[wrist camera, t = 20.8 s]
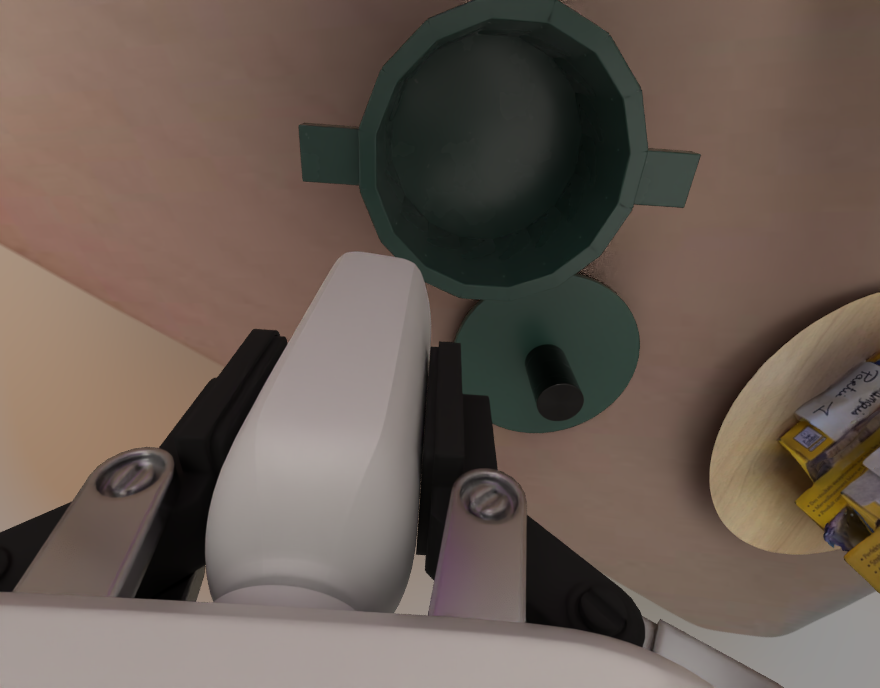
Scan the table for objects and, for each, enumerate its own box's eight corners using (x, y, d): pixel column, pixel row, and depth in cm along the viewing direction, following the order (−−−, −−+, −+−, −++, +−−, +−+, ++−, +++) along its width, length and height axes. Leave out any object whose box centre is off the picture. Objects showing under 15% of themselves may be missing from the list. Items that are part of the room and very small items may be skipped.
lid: (459, 261, 32) (464, 299, 27) (657, 274, 32) (701, 314, 27) (445, 419, 39) (446, 475, 33) (609, 427, 39) (636, 484, 34)
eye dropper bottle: (265, 359, 15) (-164, 1043, 4) (364, 219, 12) (-48, 965, 2) (380, 426, 16) (256, 1074, 6) (489, 311, 14) (607, 1046, 3)
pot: (328, 4, 25) (282, -25, 17) (664, 31, 25) (756, 15, 18) (338, 238, 31) (306, 289, 24) (607, 255, 32) (658, 311, 24)
